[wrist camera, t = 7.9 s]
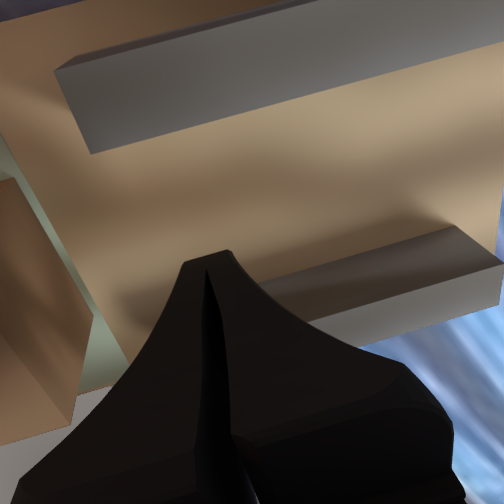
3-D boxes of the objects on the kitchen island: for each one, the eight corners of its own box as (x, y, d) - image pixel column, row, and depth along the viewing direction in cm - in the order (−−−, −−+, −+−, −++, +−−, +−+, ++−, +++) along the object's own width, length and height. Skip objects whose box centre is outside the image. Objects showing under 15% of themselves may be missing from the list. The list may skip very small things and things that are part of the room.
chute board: (472, 255, 21) (541, 312, 17) (-6, 396, 20) (-45, 490, 16) (505, -108, 13) (646, -152, 9) (-270, 95, 12) (-467, 139, 8)
